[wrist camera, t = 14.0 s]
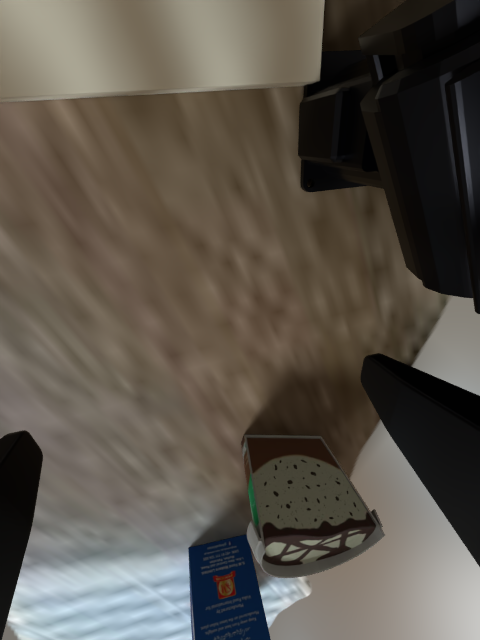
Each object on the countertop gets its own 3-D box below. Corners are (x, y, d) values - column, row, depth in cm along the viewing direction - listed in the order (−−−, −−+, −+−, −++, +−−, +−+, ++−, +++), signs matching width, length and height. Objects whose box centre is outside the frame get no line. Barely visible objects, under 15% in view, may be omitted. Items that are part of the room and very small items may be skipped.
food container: (213, 473, 32) (232, 591, 23) (229, 434, 29) (257, 552, 21) (310, 470, 36) (355, 569, 28) (332, 436, 33) (389, 534, 25)
